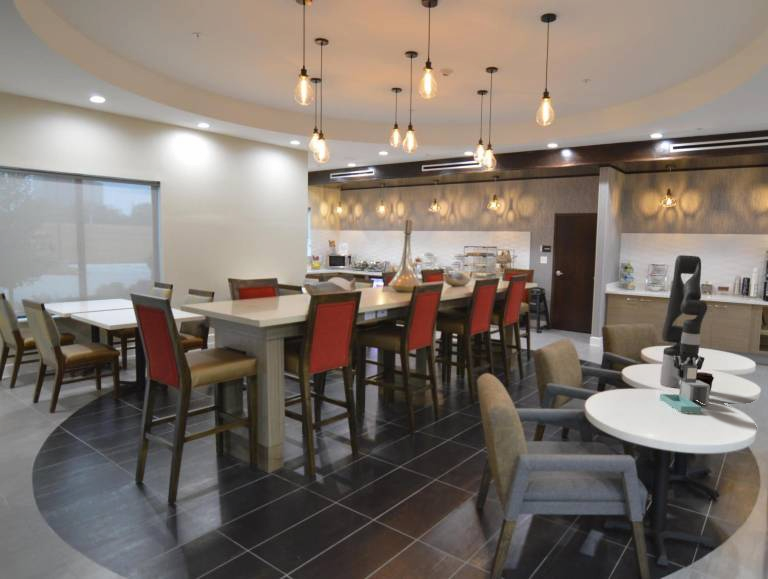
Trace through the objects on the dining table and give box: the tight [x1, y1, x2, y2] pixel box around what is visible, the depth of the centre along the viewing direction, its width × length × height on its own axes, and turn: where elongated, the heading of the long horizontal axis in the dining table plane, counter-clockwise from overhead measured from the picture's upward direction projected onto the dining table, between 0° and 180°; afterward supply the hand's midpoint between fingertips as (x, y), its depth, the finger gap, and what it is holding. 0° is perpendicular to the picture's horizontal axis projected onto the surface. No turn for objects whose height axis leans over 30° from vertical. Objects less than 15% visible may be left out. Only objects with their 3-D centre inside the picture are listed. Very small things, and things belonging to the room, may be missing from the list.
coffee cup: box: [696, 371, 715, 395], centre depth 258 cm, size 9×8×13 cm
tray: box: [659, 393, 702, 414], centre depth 245 cm, size 18×9×3 cm, turn 0°
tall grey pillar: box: [670, 359, 698, 383], centre depth 243 cm, size 13×5×8 cm, turn 0°
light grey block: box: [678, 380, 711, 406], centre depth 250 cm, size 9×9×10 cm
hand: (686, 377), depth 240 cm, fingers closed on tall grey pillar, 5 cm apart
